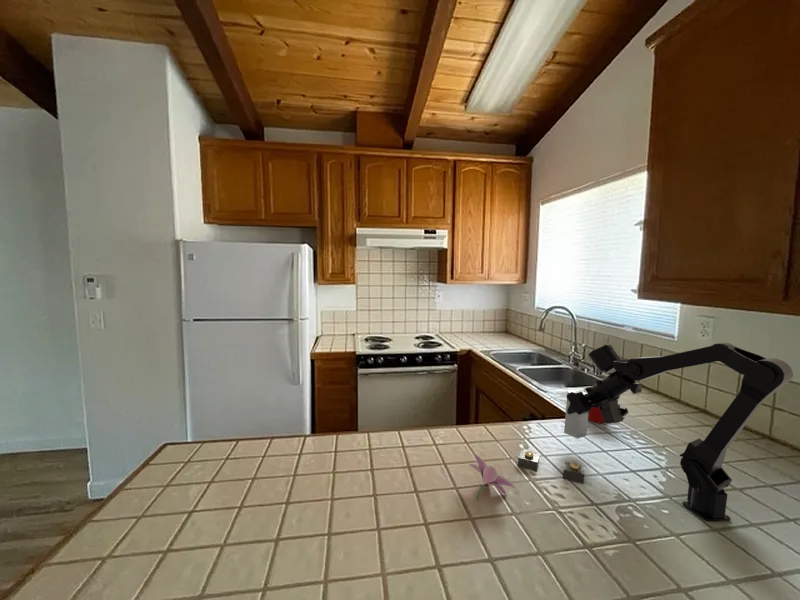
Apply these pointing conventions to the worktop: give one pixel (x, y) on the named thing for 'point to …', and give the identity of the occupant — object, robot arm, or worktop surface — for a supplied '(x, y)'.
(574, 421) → the tall metal block
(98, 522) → the worktop surface
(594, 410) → the plastic cup
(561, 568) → the worktop surface
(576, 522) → the worktop surface
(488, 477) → the lily
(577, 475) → the chain ends
